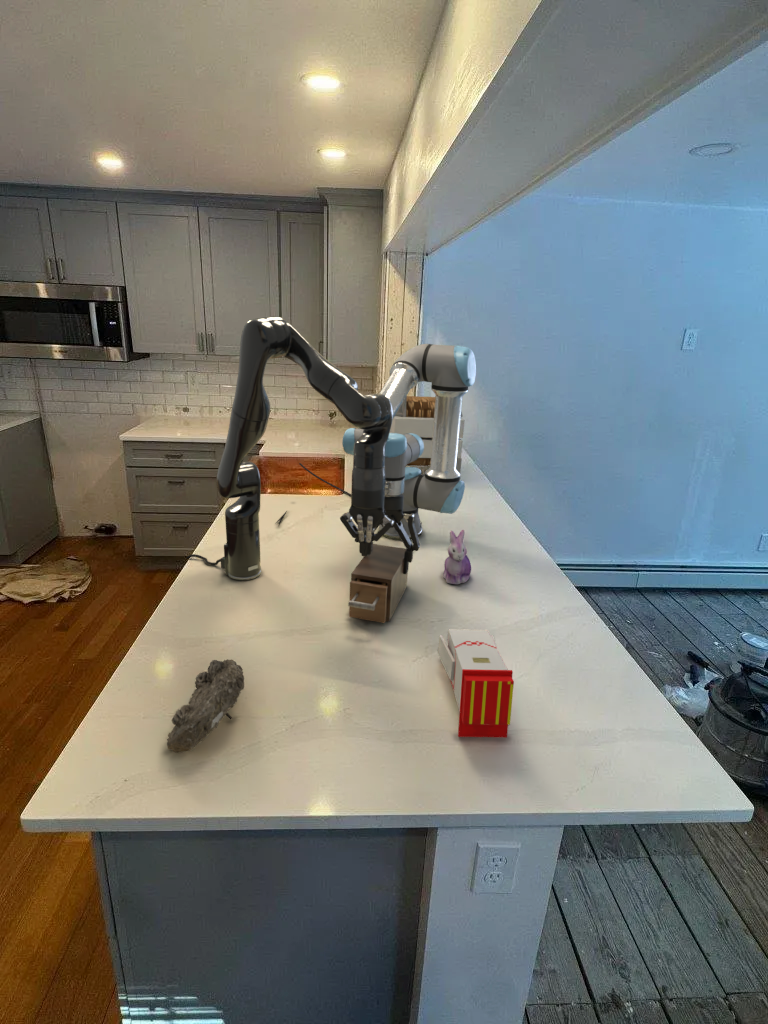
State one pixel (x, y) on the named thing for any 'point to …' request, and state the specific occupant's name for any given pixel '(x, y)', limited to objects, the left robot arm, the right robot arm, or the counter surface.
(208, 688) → the fossil
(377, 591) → the drawer
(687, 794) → the counter surface
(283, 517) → the feather
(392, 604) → the cabinet
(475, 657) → the toy
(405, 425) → the white tiered storage organizer
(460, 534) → the figurine
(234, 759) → the counter surface
